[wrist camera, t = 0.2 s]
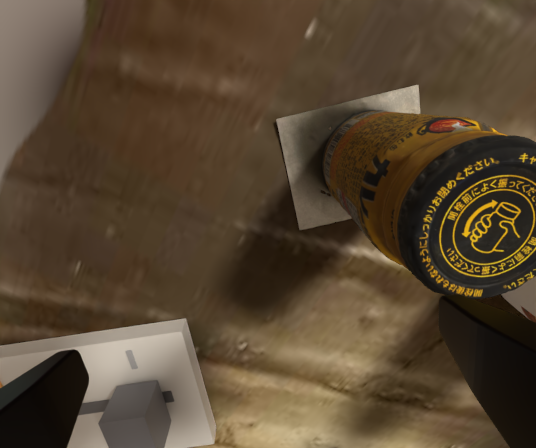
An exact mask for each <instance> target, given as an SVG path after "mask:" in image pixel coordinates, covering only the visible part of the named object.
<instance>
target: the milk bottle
mask: <svg viewBox="0 0 536 448" xmlns="http://www.w3.org/2000/svg"><path fill="white" fill-rule="evenodd" d="M501 295H502V296H503V298H504V299H505V300H506V301H508V302H509V303H510V304H511V305H512V306H513V307H515V308H516V309H517V310H518V311H519V312H521V313H522V314H523V315H524V316H526V317H527V318H528V319H529V320H531V321H533V322H536V277H534V278H532V279H531V280H529V281H527V282H526V283H524V284H523V285H522V286H520V287H519V288H517V289H515V290H513V291H508V292H506V293H504V294H501Z"/></svg>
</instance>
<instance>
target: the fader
mask: <svg viewBox="0 0 536 448" xmlns="http://www.w3.org/2000/svg"><path fill="white" fill-rule="evenodd" d="M98 424H99V427H100V429H101V431H102V433H103V436H104V438H105V440H106V442H107V445H108V447H109V448H164V447H165V443H166V440H167V436H168V432H169V429H170V425H171V418H170V415H169V412H168V409H167V406H166V403H165V400H164V397H163V394H162V391H161V388H160V385H159V382H158V380H155V381H148V382H141V383H134V384H127V385H120V386H117V387H116V389H115V391H114V393H113V395H112V397H111V399H110V401H109V403H108V405H107V407H106V409H105V411H104V413H103V415H102V417H101V419H100V421H99V423H98Z"/></svg>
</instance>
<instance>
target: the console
mask: <svg viewBox="0 0 536 448" xmlns="http://www.w3.org/2000/svg"><path fill="white" fill-rule="evenodd" d="M72 349H75V350H77V351H78V352H79V353H80V355H81V357H82V360H83V362H84V364H85V367H86V369H87V372H88V374H89V385H88V388H87V391H86V394H85V397H84V400H83V403H82V406H81V409H80V412H79V415H78V418H77V421H76V423H75V426H74V429H73V432H72V435H71V438H70V441H69V444H68V446H67V448H109V447H108V445H107V442H106V440H105V438H104V436H103V433H102V431H101V429H100V427H99V424H98V423H99V421H100V419H101V417H102V415H103V413H104V411H105V409H106V407H107V405H108V403H109V401H110V399H111V397H112V395H113V393H114V391H115V389H116V387H117V386H120V385H127V384H134V383H141V382H148V381H155V380H158V382H159V385H160V388H161V391H162V394H163V397H164V400H165V403H166V406H167V409H168V412H169V415H170V418H171V425H170V429H169V432H168V436H167V440H166V443H165V447H164V448H188V447H195V446H202V445H209V444H214V441H215V433H216V424H215V420H214V417H213V413H212V410H211V406H210V402H209V399H208V395H207V392H206V388H205V385H204V381H203V377H202V374H201V370H200V367H199V363H198V360H197V356H196V352H195V349H194V345H193V342H192V338H191V335H190V331H189V327H188V324H187V320H186V318H185V319H178V320H171V321H165V322H158V323H151V324H144V325H138V326H131V327H124V328H117V329H110V330H104V331H97V332H90V333H83V334H76V335H70V336H63V337H56V338H49V339H42V340H36V341H29V342H22V343H15V344H9V345H2V346H0V388H2V387H3V386H5V385H6V384H8V383H9V382H11V381H13V380H14V379H16V378H17V377H19V376H20V375H22V374H24V373H25V372H27V371H28V370H30V369H32V368H33V367H35V366H36V365H38V364H39V363H41V362H43V361H44V360H46V359H47V358H49V357H51V356H52V355H54V354H55V353H57V352H59V351H64V350H72Z"/></svg>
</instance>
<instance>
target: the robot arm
mask: <svg viewBox="0 0 536 448" xmlns="http://www.w3.org/2000/svg"><path fill="white" fill-rule="evenodd" d="M438 326H439V331H440V333H441V336H442V337H443V339H444V341H445V343H446V345H447V347H448V348H449V350H450V352H451V354H452V356H453V358H454V360H455V361H456V363H457V365H458V367H459V369H460V371H461V372H462V374H463V376H464V378H465V380H466V382H467V383H468V385H469V387H470V389H471V390H472V392H473V394H474V395H475V397H476V398H477V400H478V401H479V403H480V404H481V406H482V407H483V409H484V410H485V412H486V413H487V415H488V416H489V418H490V419H491V421H492V422H493V424H494V425H495V426H496V428H497V429H498V431H499V432H500V434H501V435H502V437H503V438H504V440H505V441H506V443H507V444H508V446H509V447H510V448H536V322H533V321H530V320H528V319H525V318H522V317H520V316H517V315H514V314H512V313H509V312H506V311H503V310H501V309H498V308H495V307H493V306H490V305H487V304H485V303H482V302H479V301H476V300H474V299H471V298H468V297H466V296H463V295H460V294H452V295H445V296H442V297H441V298H440V300H439V318H438ZM88 385H89V374H88V372H87V369H86V367H85V364H84V362H83V360H82V357H81V355H80V353H79V352H78V351H77V350H75V349H72V350H64V351H59V352H57V353H55V354H54V355H52V356H51V357H49V358H47V359H46V360H44V361H43V362H41V363H39V364H38V365H36V366H35V367H33V368H32V369H30V370H28V371H27V372H25V373H24V374H22V375H20V376H19V377H17V378H16V379H14V380H13V381H11V382H9V383H8V384H6V385H5V386H3V387H2V388H0V448H67V446H68V444H69V441H70V438H71V435H72V432H73V429H74V426H75V423H76V421H77V418H78V415H79V412H80V409H81V406H82V403H83V400H84V397H85V394H86V391H87V388H88Z"/></svg>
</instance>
